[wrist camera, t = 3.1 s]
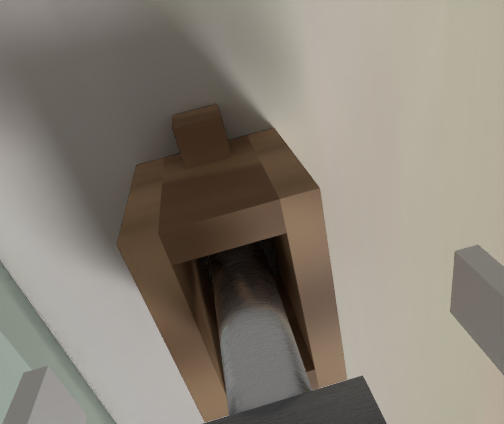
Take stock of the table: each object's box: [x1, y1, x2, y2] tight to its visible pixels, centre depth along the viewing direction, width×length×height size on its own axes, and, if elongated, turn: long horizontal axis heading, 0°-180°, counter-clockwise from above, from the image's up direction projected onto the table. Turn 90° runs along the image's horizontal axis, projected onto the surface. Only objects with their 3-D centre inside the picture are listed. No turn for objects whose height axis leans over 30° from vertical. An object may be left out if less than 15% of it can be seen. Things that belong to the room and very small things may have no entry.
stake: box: [204, 240, 387, 424], centre depth 14 cm, size 5×2×11 cm, turn 102°
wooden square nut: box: [117, 104, 347, 422], centre depth 15 cm, size 11×6×6 cm, turn 13°
